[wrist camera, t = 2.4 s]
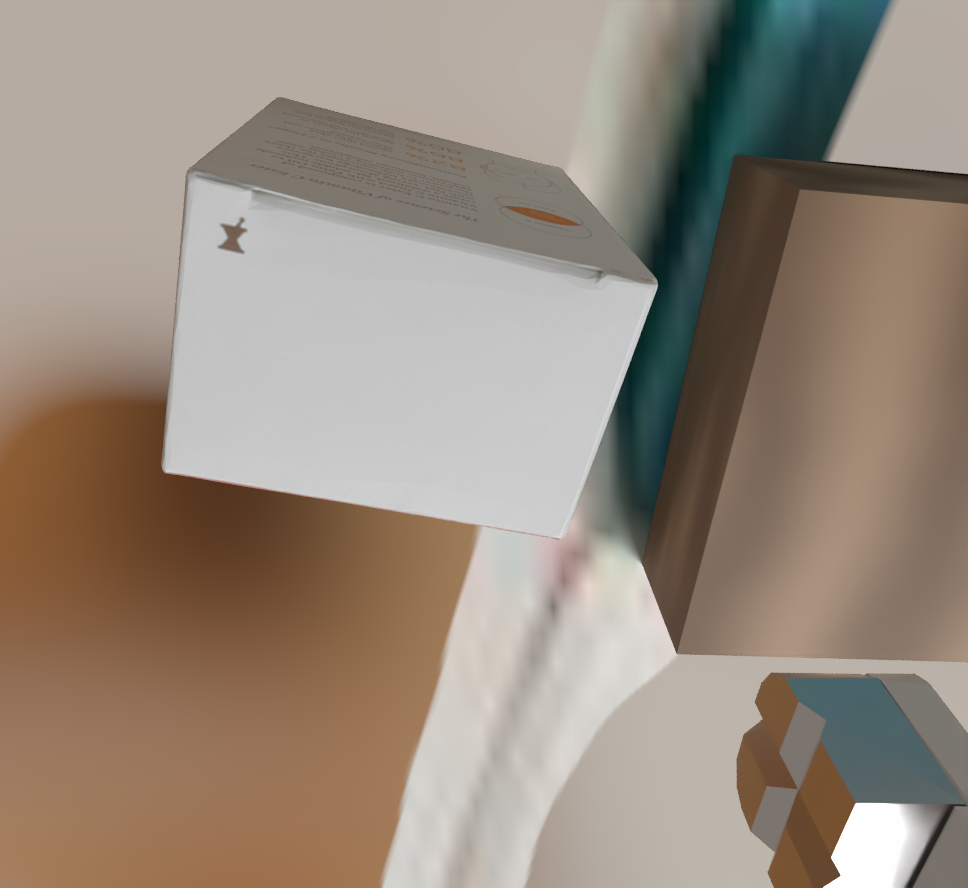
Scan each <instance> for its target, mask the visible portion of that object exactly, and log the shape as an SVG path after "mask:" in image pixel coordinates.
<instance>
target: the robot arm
mask: <svg viewBox="0 0 968 888" xmlns="http://www.w3.org/2000/svg"><path fill="white" fill-rule="evenodd" d="M755 704H756V706H757V708H758V710H759V712H760V714H761V716H762V718H763V719H762V720H761V721H760V722H759V723H758V724H756V725H755V726H754V727H752V728H751V729H750V730H749V731H748V732H746V733H745V734H744V735H743V739H742V742H741V746H740V749H739V753H738V757H737V790H738V794H739V798H740V803H741V808H742V811H743V813H744V816H745V818H746V821H747V823H748V826H749V828H750V831H751V832H752V833H753V834H754V835H755V836H757V837H758V838H759V839H760V840H761V841H762V842H764V843H765V844H766V845H767V846H768V847H769V848H771V849H772V850H773V851H774V855H773V857H772V861H771V864H770V867H769V870H768V874H769V877H770V879H771V882H772V884H773V886H774V888H968V733H967V732H966V730H965V729H964V728H963V726H962V725H961V724H960V723H959V721H958V720H957V719H956V717H955V716H954V715H953V713H952V712H951V711H950V710H949V708H948V707H947V706H946V704H945V703H944V702H943V701H942V699H941V698H940V697H939V695H938V694H937V693H936V691H935V690H934V689H933V688H932V686H931V685H930V684H929V683H928V682H927V681H925V680H924V679H922V678H921V677H919V676H917V675H916V674H866V675H861V674H822V673H821V674H820V673H818V674H817V673H770V674H769V676H768V677H767V678H766V679H765V680H764V681H763V682H762V683H761V686H760V689H759V691H758V694H757V697H756V700H755Z"/></svg>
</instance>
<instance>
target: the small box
mask: <svg viewBox="0 0 968 888" xmlns="http://www.w3.org/2000/svg"><path fill="white" fill-rule="evenodd" d="M657 287H658V282H657V279H656V278H655V277H654V275H653V274H652V273H651V272H650V271H649V270H648V268H647V267H646V266H645V265H644V264H643V263H642V261H641V260H640V259H639V258H638V257H637V255H636V254H635V253H634V252H633V251H632V250H631V248H630V247H629V246H628V245H627V244H626V243H625V242H624V240H623V239H622V238H621V237H620V236H619V235H618V233H617V232H616V231H615V230H614V228H613V227H612V226H611V225H610V224H609V223H608V222H607V220H606V219H605V218H604V217H603V216H602V215H601V214H600V213H599V211H598V210H597V209H596V208H595V207H594V205H593V204H592V203H591V202H590V201H589V200H588V199H587V198H586V197H585V195H584V194H583V193H582V192H581V191H580V189H579V188H578V187H577V186H576V185H575V184H574V183H573V182H572V180H571V179H570V178H569V177H568V176H567V175H566V173H565V172H564V171H563V169H561V168H558V167H554V166H549V165H544V164H540V163H536V162H532V161H529V160H524V159H521V158H516V157H512V156H508V155H504V154H500V153H497V152H493V151H489V150H485V149H481V148H477V147H473V146H469V145H465V144H461V143H457V142H453V141H449V140H445V139H441V138H437V137H433V136H429V135H425V134H421V133H418V132H413V131H409V130H405V129H402V128H398V127H394V126H390V125H386V124H382V123H378V122H374V121H370V120H366V119H362V118H358V117H354V116H350V115H346V114H342V113H338V112H334V111H331V110H327V109H323V108H319V107H315V106H311V105H307V104H304V103H300V102H296V101H293V100H289V99H286V98H280V97H279V98H276V99H275V100H274V101H272V102H271V103H270V104H269V105H268V106H266V107H265V108H264V109H263V110H262V111H260V112H259V113H258V114H256V115H255V116H254V117H253V118H252V119H251V120H250V121H248V122H247V123H245V124H244V125H243V126H242V127H240V128H239V129H238V130H237V131H236V132H234V133H233V134H231V136H230V137H228V138H227V139H226V140H224V141H223V142H222V143H220V144H219V145H218V146H217V147H216V148H214V149H213V150H212V151H210V152H209V153H208V154H207V155H206V156H204V157H203V158H202V159H200V160H199V161H198V162H197V163H196V164H195V165H193V166H192V167H191V168H190V169H189V170H188V171H187V175H186V184H185V197H184V210H183V222H182V233H181V245H180V256H179V269H178V281H177V293H176V305H175V317H174V328H173V341H172V351H171V362H170V374H169V385H168V397H167V408H166V420H165V432H164V443H163V444H164V445H163V454H162V469H163V471H164V472H165V473H169V474H176V475H182V476H188V477H194V478H201V479H206V480H212V481H218V482H223V483H229V484H235V485H241V486H247V487H253V488H258V489H265V490H271V491H277V492H283V493H290V494H295V495H301V496H307V497H314V498H319V499H326V500H332V501H337V502H343V503H349V504H356V505H361V506H367V507H373V508H378V509H383V510H390V511H396V512H402V513H408V514H414V515H421V516H427V517H432V518H438V519H444V520H449V521H455V522H461V523H467V524H472V525H479V526H485V527H490V528H496V529H502V530H507V531H513V532H519V533H524V534H530V535H536V536H542V537H548V538H553V539H557V540H561V539H563V538H564V537H565V535H566V534H567V531H568V528H569V525H570V522H571V520H572V517H573V514H574V512H575V509H576V506H577V504H578V501H579V498H580V496H581V493H582V490H583V488H584V485H585V482H586V480H587V477H588V474H589V472H590V469H591V466H592V464H593V461H594V458H595V456H596V453H597V450H598V448H599V445H600V442H601V439H602V437H603V434H604V431H605V429H606V426H607V423H608V421H609V418H610V415H611V413H612V410H613V407H614V404H615V402H616V399H617V396H618V394H619V391H620V388H621V386H622V383H623V380H624V377H625V375H626V372H627V369H628V367H629V364H630V361H631V358H632V356H633V353H634V350H635V347H636V345H637V342H638V339H639V337H640V334H641V331H642V328H643V326H644V323H645V320H646V317H647V315H648V312H649V309H650V306H651V304H652V301H653V299H654V296H655V293H656V291H657Z"/></svg>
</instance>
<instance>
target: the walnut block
mask: <svg viewBox="0 0 968 888" xmlns="http://www.w3.org/2000/svg"><path fill="white" fill-rule="evenodd" d="M642 565H643V567H644V570H645V573H646V575H647V578H648V580H649V583H650V586H651V588H652V591H653V593H654V596H655V599H656V601H657V604H658V606H659V609H660V612H661V614H662V617H663V619H664V622H665V624H666V627H667V630H668V632H669V635H670V637H671V640H672V643H673V645H674V648H675V650H676V653H677V654H694V655H696V654H697V655H730V656H731V655H733V656H769V657H803V658H839V659H840V658H841V659H877V660H913V661H948V662H949V661H950V662H968V174H962V173H951V172H939V171H929V170H918V169H907V168H897V167H885V166H875V165H864V164H853V163H842V162H831V161H828V162H827V163H822V162H811V161H800V160H789V159H778V158H767V157H756V156H745V155H734V158H733V163H732V167H731V171H730V176H729V180H728V185H727V189H726V194H725V198H724V203H723V207H722V211H721V216H720V220H719V225H718V229H717V234H716V238H715V243H714V247H713V251H712V256H711V260H710V265H709V269H708V274H707V278H706V283H705V287H704V291H703V296H702V300H701V305H700V309H699V314H698V318H697V323H696V327H695V331H694V336H693V340H692V345H691V349H690V354H689V358H688V363H687V367H686V371H685V376H684V380H683V385H682V389H681V394H680V398H679V403H678V407H677V411H676V416H675V420H674V425H673V429H672V434H671V438H670V443H669V447H668V451H667V456H666V460H665V465H664V469H663V474H662V478H661V483H660V487H659V491H658V496H657V500H656V505H655V509H654V514H653V518H652V523H651V527H650V531H649V536H648V540H647V545H646V549H645V554H644V558H643V563H642Z"/></svg>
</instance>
